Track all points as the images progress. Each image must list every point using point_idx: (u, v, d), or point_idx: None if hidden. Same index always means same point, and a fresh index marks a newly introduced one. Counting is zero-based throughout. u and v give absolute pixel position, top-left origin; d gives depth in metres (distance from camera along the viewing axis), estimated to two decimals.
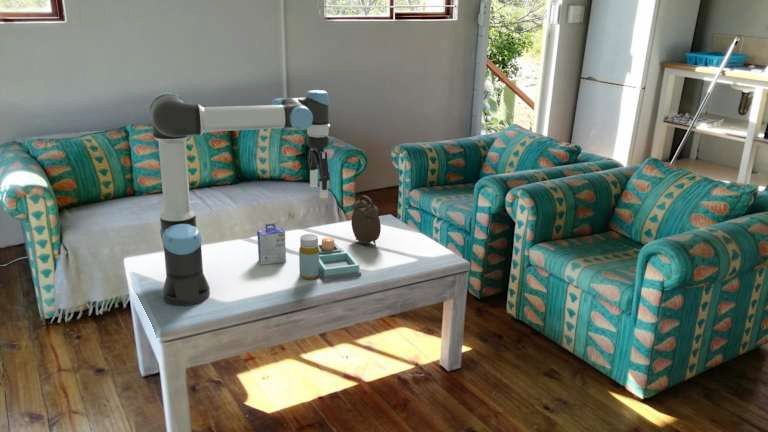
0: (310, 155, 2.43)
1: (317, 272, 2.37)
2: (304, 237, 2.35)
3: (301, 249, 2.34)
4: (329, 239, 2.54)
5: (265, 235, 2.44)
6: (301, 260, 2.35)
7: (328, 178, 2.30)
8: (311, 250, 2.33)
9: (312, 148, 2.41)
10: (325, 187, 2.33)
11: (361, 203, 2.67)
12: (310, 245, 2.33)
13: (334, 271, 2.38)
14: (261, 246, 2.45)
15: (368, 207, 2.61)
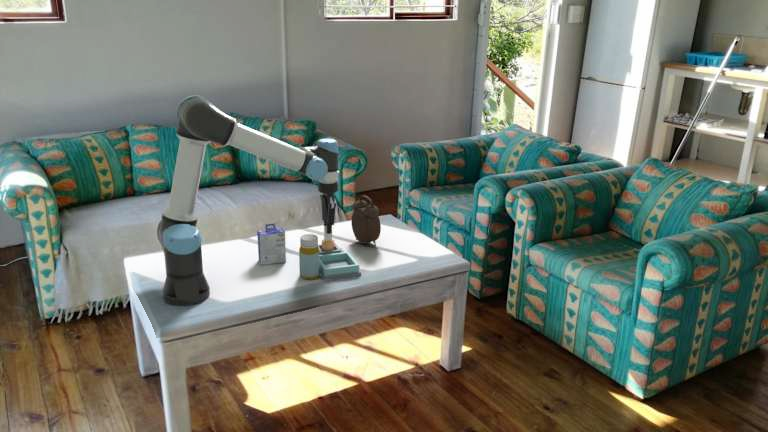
0: (322, 205, 2.52)
1: (317, 272, 2.37)
2: (304, 237, 2.35)
3: (301, 249, 2.34)
4: None
5: (265, 235, 2.44)
6: (301, 260, 2.35)
7: (332, 223, 2.48)
8: (311, 250, 2.33)
9: None
10: (330, 231, 2.50)
11: (361, 203, 2.67)
12: (310, 245, 2.33)
13: (334, 271, 2.38)
14: (261, 246, 2.45)
15: (368, 207, 2.61)
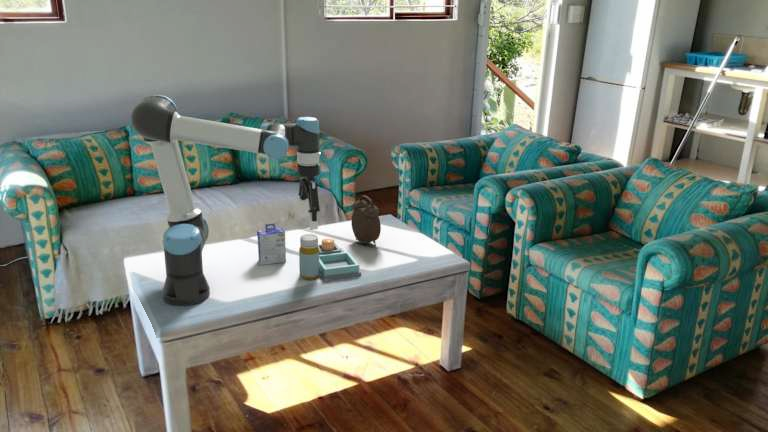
0: (300, 184, 2.34)
1: (317, 272, 2.37)
2: (304, 237, 2.35)
3: (301, 249, 2.34)
4: (329, 240, 2.54)
5: (265, 235, 2.44)
6: (301, 260, 2.35)
7: (318, 209, 2.22)
8: (311, 250, 2.33)
9: (302, 176, 2.32)
10: (315, 218, 2.25)
11: (361, 203, 2.67)
12: (310, 245, 2.33)
13: (334, 271, 2.38)
14: (261, 246, 2.45)
15: (368, 207, 2.61)
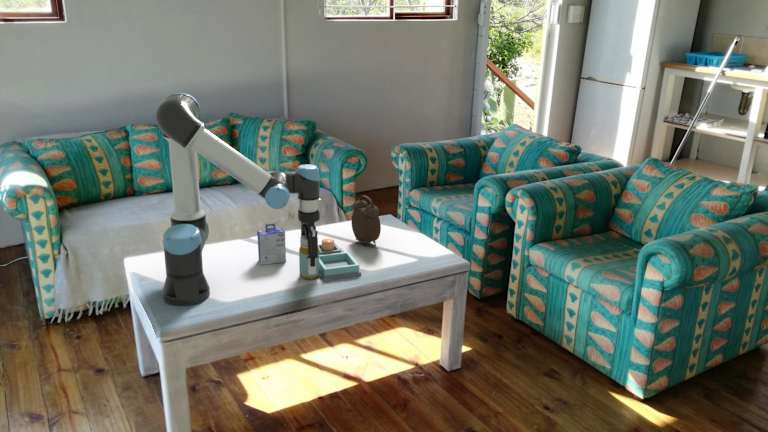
0: (302, 231, 2.39)
1: (317, 272, 2.37)
2: (304, 237, 2.35)
3: (301, 249, 2.34)
4: (329, 240, 2.54)
5: (265, 235, 2.44)
6: (301, 260, 2.35)
7: (316, 256, 2.30)
8: None
9: (303, 223, 2.38)
10: (313, 264, 2.33)
11: (361, 203, 2.67)
12: None
13: (334, 271, 2.38)
14: (261, 246, 2.45)
15: (368, 207, 2.61)
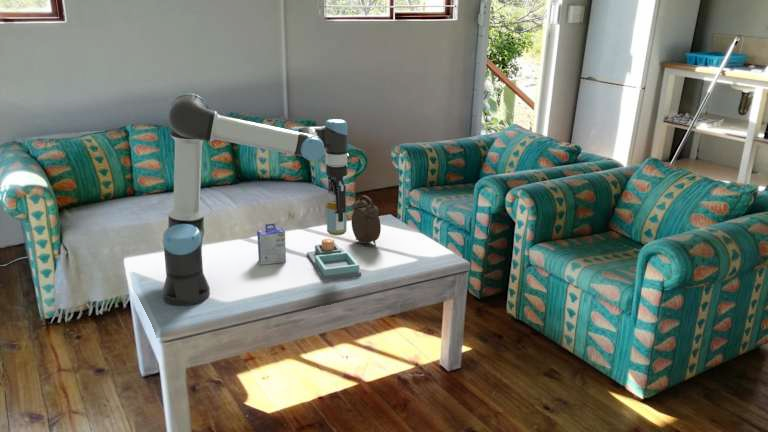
0: (329, 187, 2.40)
1: (345, 228, 2.38)
2: (332, 193, 2.35)
3: (329, 204, 2.35)
4: (329, 240, 2.54)
5: (265, 235, 2.44)
6: (329, 216, 2.36)
7: (344, 210, 2.31)
8: None
9: (330, 179, 2.39)
10: (341, 219, 2.34)
11: (361, 203, 2.67)
12: None
13: (334, 271, 2.38)
14: (261, 246, 2.45)
15: (368, 207, 2.61)
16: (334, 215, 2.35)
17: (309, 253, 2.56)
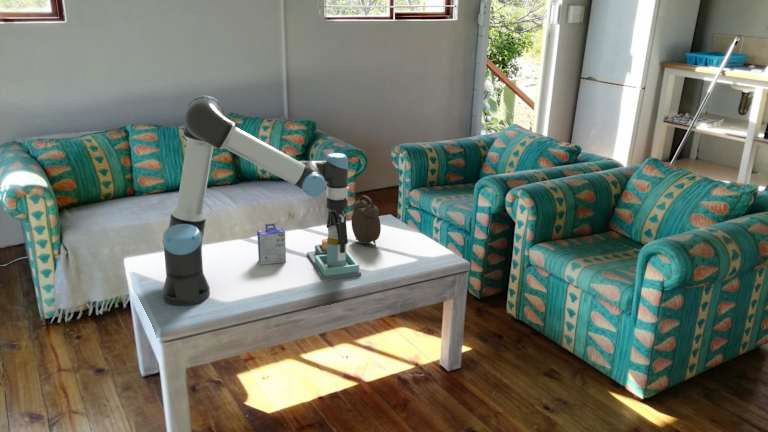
0: (329, 216, 2.44)
1: (344, 262, 2.43)
2: (332, 228, 2.40)
3: (329, 239, 2.40)
4: None
5: (265, 235, 2.44)
6: (329, 250, 2.41)
7: (346, 242, 2.33)
8: None
9: (330, 209, 2.43)
10: (343, 250, 2.36)
11: (361, 203, 2.67)
12: None
13: (334, 271, 2.38)
14: (261, 246, 2.45)
15: (368, 207, 2.61)
16: (334, 250, 2.40)
17: (309, 253, 2.56)
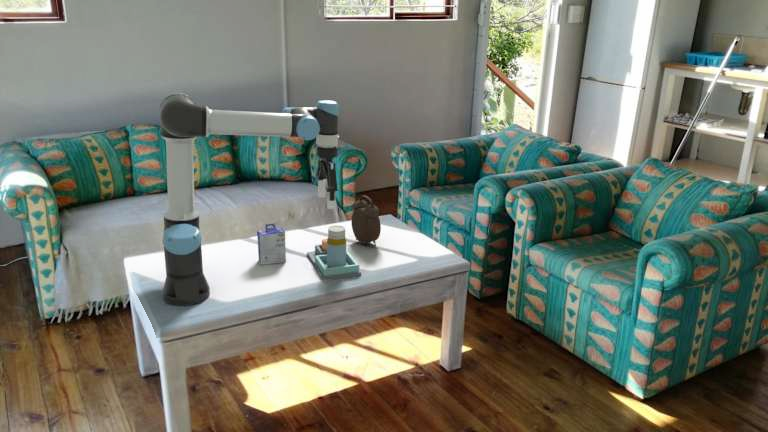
0: (319, 165, 2.42)
1: (344, 262, 2.43)
2: (332, 228, 2.40)
3: (329, 240, 2.40)
4: None
5: (265, 235, 2.44)
6: (329, 251, 2.41)
7: (336, 189, 2.29)
8: (339, 241, 2.39)
9: (321, 158, 2.40)
10: (333, 198, 2.32)
11: (361, 203, 2.67)
12: (338, 236, 2.38)
13: (334, 271, 2.38)
14: (261, 246, 2.45)
15: (368, 207, 2.61)
16: (334, 250, 2.39)
17: (309, 253, 2.56)
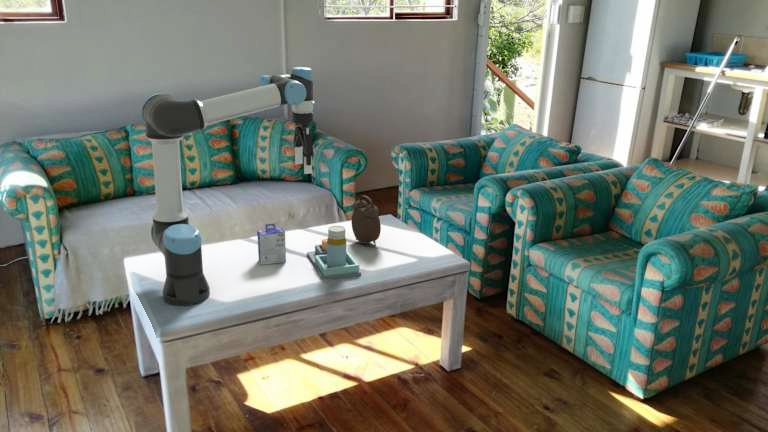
0: (295, 132, 2.47)
1: (344, 262, 2.43)
2: (332, 228, 2.40)
3: (329, 240, 2.40)
4: None
5: (265, 235, 2.44)
6: (329, 251, 2.41)
7: (312, 153, 2.35)
8: (339, 241, 2.39)
9: None
10: (309, 162, 2.37)
11: (361, 203, 2.67)
12: (338, 236, 2.38)
13: (334, 271, 2.38)
14: (261, 246, 2.45)
15: (368, 207, 2.61)
16: (334, 250, 2.39)
17: (309, 253, 2.56)
